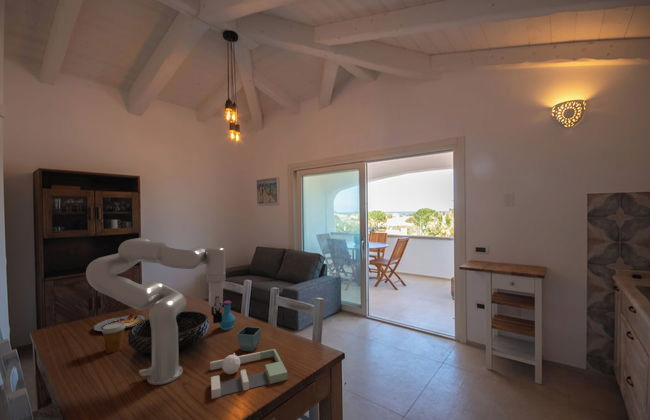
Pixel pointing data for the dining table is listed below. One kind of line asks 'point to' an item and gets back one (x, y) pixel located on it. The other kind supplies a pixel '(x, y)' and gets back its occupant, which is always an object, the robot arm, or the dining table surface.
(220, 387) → the u-shaped rail frame
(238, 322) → the dining table surface
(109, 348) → the disposable coffee cup
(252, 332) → the flower pot
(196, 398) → the dining table surface
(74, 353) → the dining table surface
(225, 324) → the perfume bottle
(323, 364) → the dining table surface
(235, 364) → the ornament
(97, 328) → the food plate
